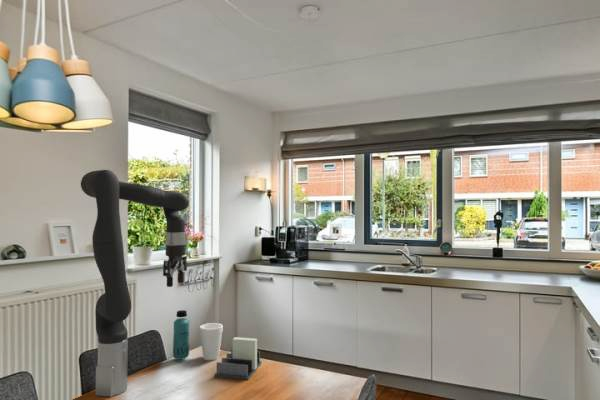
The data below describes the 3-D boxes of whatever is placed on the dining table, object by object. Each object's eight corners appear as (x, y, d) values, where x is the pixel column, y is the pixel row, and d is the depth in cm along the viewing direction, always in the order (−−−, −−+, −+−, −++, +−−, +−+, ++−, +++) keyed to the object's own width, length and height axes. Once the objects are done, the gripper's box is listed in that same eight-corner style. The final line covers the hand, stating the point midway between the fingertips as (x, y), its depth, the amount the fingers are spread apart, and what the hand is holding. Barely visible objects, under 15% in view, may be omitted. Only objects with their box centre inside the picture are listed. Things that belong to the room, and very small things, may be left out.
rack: (248, 379, 149) (248, 366, 149) (214, 376, 152) (214, 363, 152) (261, 363, 165) (261, 351, 165) (230, 360, 167) (230, 348, 168)
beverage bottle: (169, 360, 167) (169, 311, 168) (181, 355, 173) (181, 308, 174) (181, 363, 164) (181, 313, 165) (192, 358, 170) (193, 310, 171)
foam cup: (227, 356, 173) (227, 325, 173) (211, 363, 165) (211, 330, 165) (210, 352, 178) (211, 321, 178) (194, 358, 170) (195, 327, 170)
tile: (254, 369, 156) (255, 340, 156) (232, 368, 158) (232, 339, 158) (257, 367, 158) (257, 338, 158) (234, 365, 160) (235, 337, 160)
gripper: (176, 241, 170) (175, 281, 170) (157, 245, 156) (156, 287, 156) (192, 242, 169) (192, 281, 169) (175, 245, 155) (174, 288, 155)
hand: (175, 284), depth 162 cm, fingers open, 8 cm apart
